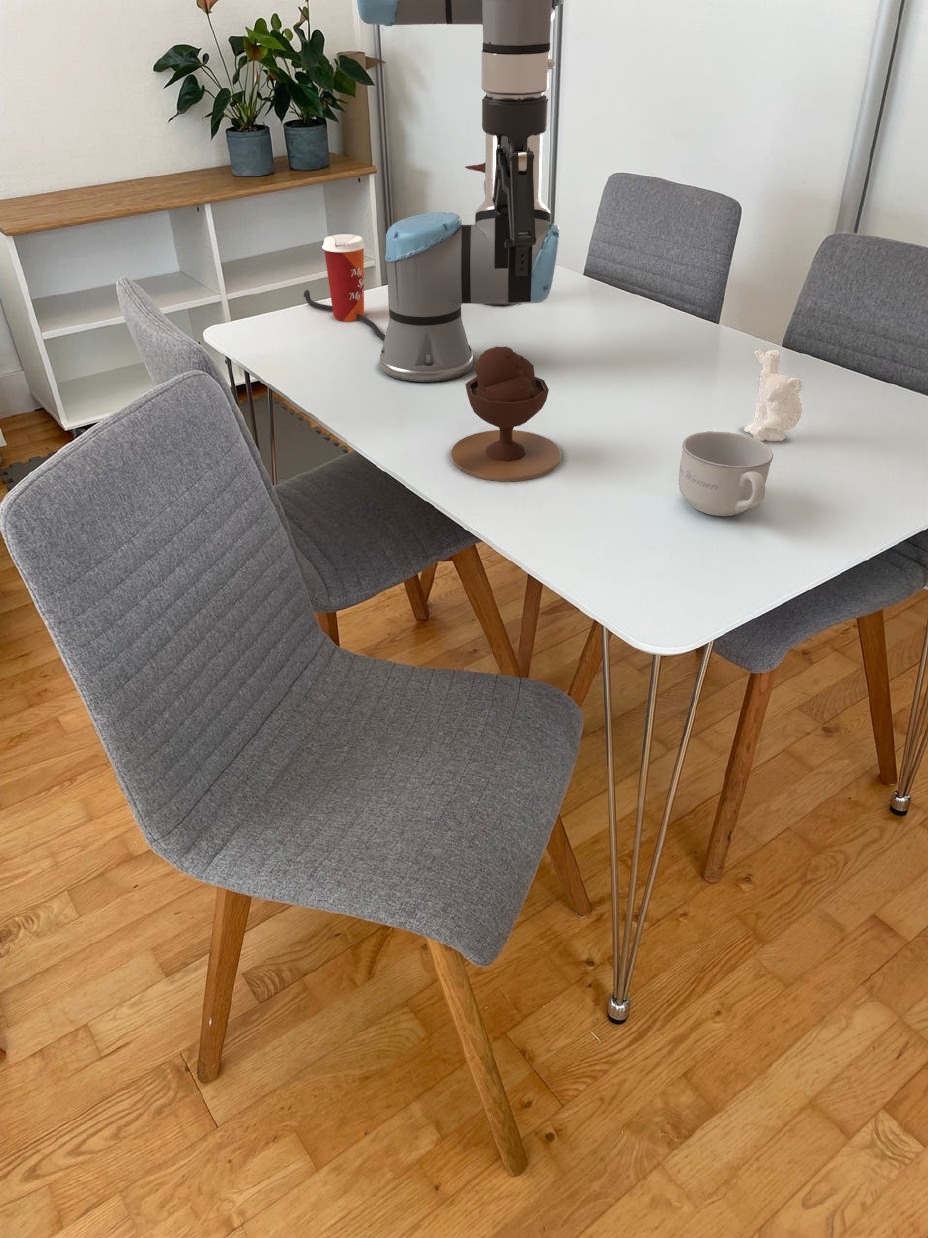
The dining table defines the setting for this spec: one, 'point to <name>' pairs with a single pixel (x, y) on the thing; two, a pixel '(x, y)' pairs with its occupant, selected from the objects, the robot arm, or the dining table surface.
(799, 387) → the koala figurine
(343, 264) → the paper cup
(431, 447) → the dining table surface
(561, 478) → the dining table surface
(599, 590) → the dining table surface
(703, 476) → the teacup
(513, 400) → the ice cream bowl
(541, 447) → the brown round coaster
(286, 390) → the dining table surface
